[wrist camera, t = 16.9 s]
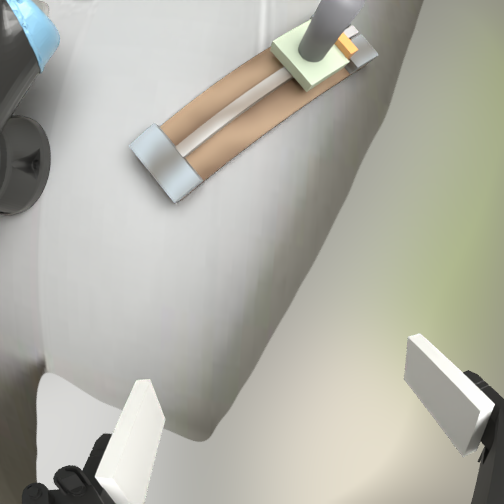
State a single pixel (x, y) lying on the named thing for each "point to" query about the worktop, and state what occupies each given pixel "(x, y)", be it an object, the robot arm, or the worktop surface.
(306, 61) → the carriage
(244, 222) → the worktop surface
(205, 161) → the rail base
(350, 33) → the orange block
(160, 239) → the worktop surface
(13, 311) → the worktop surface
